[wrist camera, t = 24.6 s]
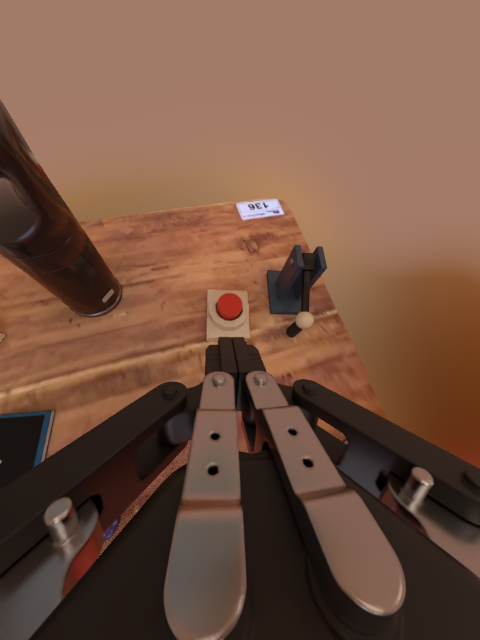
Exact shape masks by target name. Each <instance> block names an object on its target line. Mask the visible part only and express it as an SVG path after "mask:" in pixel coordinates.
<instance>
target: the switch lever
mask: <svg viewBox="0 0 480 640" xmlns="http://www.w3.org/2000/svg"><path fill="white" fill-rule="evenodd" d="M302 258H303V263H304V267H303V269H302V270H301V272H302V293H301V312H299V313H298V314H297V315H296V317H295V322H296V325H297V326H298V327H299V328H301V329H308V328H310V327H311V326H312V325H313V323H314V317H313V315H312V314H311V313H310V312H309V292H310V272H311V271H314V270H315V265H316V253H302Z"/></svg>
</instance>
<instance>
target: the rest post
mask: <svg viewBox="0 0 480 640" xmlns="http://www.w3.org/2000/svg"><path fill="white" fill-rule="evenodd" d="M301 330H302V329H301V328H299V327H298V326H297V325H296V322H294V323H293V324H292V325H291V326H290V327H289V328H288V329H287V335H288V336H289V337H294V336H296V335H297V334H298V333H299V332H300V331H301Z"/></svg>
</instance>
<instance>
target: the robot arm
mask: <svg viewBox="0 0 480 640" xmlns="http://www.w3.org/2000/svg"><path fill="white" fill-rule="evenodd" d="M0 254H2V255H3V256H5V257H6V258H7V259H9V260H10V261H11V262H12V263H14V264H15V265H16V266H18V267H19V268H20V269H22V270H23V271H24V272H25V273H27V274H28V275H29V276H30V277H32V278H33V279H34V280H36V281H37V282H38V283H39V284H41V285H42V286H43V287H44V288H46V289H47V290H48V291H50V292H51V293H52V294H53V295H55V296H56V297H57V298H58V299H60V300H61V301H62V302H63V303H65V304H66V305H67V306H68V307H69V308H70V309H71V310H73V311H74V312H75V313H77V314H79V315H81V316H84V317H97V316H101V315H104V314H106V313H108V312H110V311H111V310H113V309H114V308H115V307H116V306H117V304H118V303H119V301H120V299H121V296H122V288H121V285H120V283H119V282H118V280H117V279H116V278H115V277H114V275H113V274H112V272H111V271H110V269H109V268H108V266H107V265H106V263H105V262H104V260H103V259H102V257H101V256H100V254H99V253H98V251H97V250H96V248H95V247H94V245H93V244H92V242H91V241H90V239H89V238H88V236H87V235H86V233H85V232H84V230H83V229H82V227H81V226H80V224H79V223H78V221H77V220H76V218H75V217H74V215H73V214H72V212H71V211H70V209H69V208H68V206H67V205H66V203H65V202H64V201H63V199H62V198H61V196H60V195H59V193H58V192H57V190H56V189H55V187H54V186H53V184H52V183H51V182H50V180H49V178H48V177H47V175H46V174H45V172H44V171H43V169H42V168H41V166H40V164H39V163H38V161H37V160H36V158H35V156H34V155H33V153H32V151H31V150H30V148H29V146H28V145H27V143H26V141H25V140H24V138H23V136H22V134H21V133H20V131H19V129H18V128H17V126H16V124H15V123H14V121H13V119H12V118H11V116H10V114H9V113H8V111H7V109H6V108H5V106H4V104H3V103H2V101H1V99H0ZM235 408H236V409H235ZM237 411H242V423H241V424H242V429H243V432H244V436H245V440H246V444H247V448H248V452H249V453H244V452H239V450H238V429H237ZM318 418H320V419H321V420H323V421H325V422H326V423H328V424H329V425H331V426H332V427H334V428H336V429H337V430H339V431H340V432H342V433H343V434H344V435H345V437H346V438H347V444H345V443H343V442H342V441H340V440H339V439H337V438H336V437H334V436H333V435H331V434H330V433H328V432H327V431H325V430H324V429H322V428H321V427H319V426H318V425H317V422H318ZM188 440H191V445H190V451H189V457H188V463H187V464H186V465H184V466H182V467H180V468H179V469H177V470H176V471H175V472H173V473H172V474H171V475H170V476H169V477H168V478H167V479H165V480H164V482H163V483H162V484H161V485H160V486H159V487H158V488H157V490H156V491H155V492H154V493H153V494H152V495H151V497H150V498H149V499H148V500H147V501H146V502H145V504H144V505H143V506H142V507H141V508H140V510H139V511H138V512H137V513H136V514H135V515H134V517H133V518H132V519H131V520H130V521H129V522H128V524H127V525H126V526H125V527H124V528H123V529H122V531H121V532H120V533H119V534H118V535H117V536H116V538H115V539H114V540H113V541H112V542H111V544H110V545H109V546H108V547H107V548H106V549H105V551H104V552H103V553H102V554H101V555H100V556H99V554H100V552H101V549H102V546H103V541H104V532H105V531H106V530H107V529H108V528H109V527H110V526H111V525H112V524H113V523H114V521H115V520H116V519H117V518H118V517H119V516H120V515H121V514H122V513H123V512H124V511H125V510H126V509H127V508H128V507H129V506H130V505H131V504H132V503H133V501H134V500H135V499H136V498H137V497H138V496H139V495H140V494H141V493H142V492H143V491H144V490H145V489H146V488H147V487H148V486H149V485H150V484H151V483H152V481H153V480H154V479H155V478H156V477H157V476H158V475H159V474H160V473H161V472H162V471H163V470H164V469H165V468H166V467H167V466H168V465H169V464H170V463H171V462H172V460H173V459H174V458H175V457H176V456H177V455H178V454H179V453H180V452H181V451H182V450H183V449H184V448H185V446H186V445H187V442H188ZM98 556H99V558H98ZM97 558H98V559H97ZM96 559H97V560H96ZM0 640H480V469H479V468H477V467H475V466H473V465H471V464H470V463H468V462H465V461H464V460H462V459H460V458H458V457H456V456H454V455H453V454H451V453H449V452H447V451H445V450H443V449H441V448H439V447H437V446H435V445H434V444H432V443H430V442H428V441H426V440H424V439H422V438H420V437H418V436H416V435H415V434H413V433H411V432H409V431H407V430H405V429H403V428H401V427H399V426H398V425H396V424H394V423H392V422H390V421H388V420H386V419H384V418H382V417H380V416H379V415H377V414H375V413H373V412H371V411H369V410H367V409H365V408H363V407H362V406H360V405H358V404H356V403H354V402H352V401H350V400H348V399H346V398H344V397H343V396H341V395H339V394H337V393H335V392H333V391H331V390H329V389H327V388H325V387H324V386H322V385H320V384H318V383H316V382H314V381H311V380H306V379H301V380H297V381H295V382H294V384H293V387H291V386H285V385H281V384H278V383H277V382H276V380H275V379H274V377H273V376H272V375H271V374H269V373H267V372H266V369H265V367H264V364H263V362H262V360H261V356H260V354H259V351H258V349H257V348H256V347H254V346H253V345H246V342H245V339H244V337H218V345H209V346H208V348H207V349H206V362H205V377H204V379H203V382H202V383H201V384H199V385H197V386H195V387H192V388H188V389H187V388H186V387H185V386H184V385H183V384H181V383H179V382H166V383H163V384H161V385H159V386H157V387H156V388H154V389H153V390H151V391H150V392H148V393H147V394H145V395H144V396H142V397H141V398H139V399H137V400H136V401H134V402H133V403H131V404H130V405H128V406H127V407H125V408H124V409H122V410H121V411H119V412H118V413H116V414H115V415H113V416H111V417H110V418H108V419H107V420H105V421H104V422H102V423H101V424H99V425H98V426H96V427H95V428H93V429H92V430H90V431H89V432H87V433H86V434H84V435H82V436H81V437H79V438H78V439H76V440H75V441H73V442H72V443H70V444H69V445H67V446H66V447H64V448H63V449H61V450H60V451H58V452H56V453H55V454H53V455H52V456H50V457H49V458H47V459H46V460H44V461H43V462H41V463H40V464H38V465H37V466H35V467H34V468H32V469H31V470H29V471H27V472H26V473H24V474H23V475H21V476H20V477H18V478H17V479H15V480H14V481H12V482H11V483H9V484H8V485H6V486H5V487H3V488H1V489H0Z"/></svg>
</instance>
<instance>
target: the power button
mask: <svg viewBox="0 0 480 640" xmlns="http://www.w3.org/2000/svg"><path fill="white" fill-rule="evenodd" d="M242 305H243V304H242V300H241V299H240V297H239V296H238V295H236V294H233V293H225V294H223V295H222V296H220V298H219V299H218V304H217V312H218V314H219V315H220V316H221V317H222V318H224V319H226V320H233V319H235V318H237V317H238V316H239V315H240V312H241V309H242Z"/></svg>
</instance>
